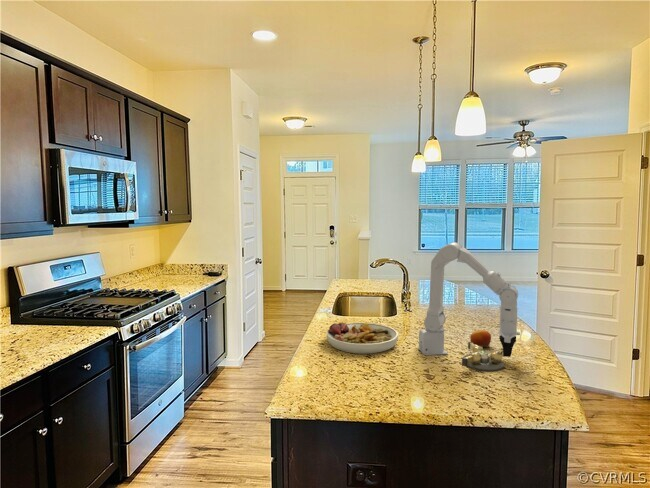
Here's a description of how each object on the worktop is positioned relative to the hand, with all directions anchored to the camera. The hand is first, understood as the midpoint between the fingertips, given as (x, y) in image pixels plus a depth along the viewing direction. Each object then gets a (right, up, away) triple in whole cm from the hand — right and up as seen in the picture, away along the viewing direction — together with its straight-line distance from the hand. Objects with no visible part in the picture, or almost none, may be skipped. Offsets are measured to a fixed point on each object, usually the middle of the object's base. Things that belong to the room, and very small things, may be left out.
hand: (507, 356), depth 151 cm
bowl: (-51, -2, +24) cm, 56 cm away
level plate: (-9, -3, 0) cm, 9 cm away
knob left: (-15, -2, -4) cm, 15 cm away
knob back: (-10, -1, +7) cm, 12 cm away
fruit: (-3, -1, +19) cm, 19 cm away
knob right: (-3, -1, 0) cm, 3 cm away
